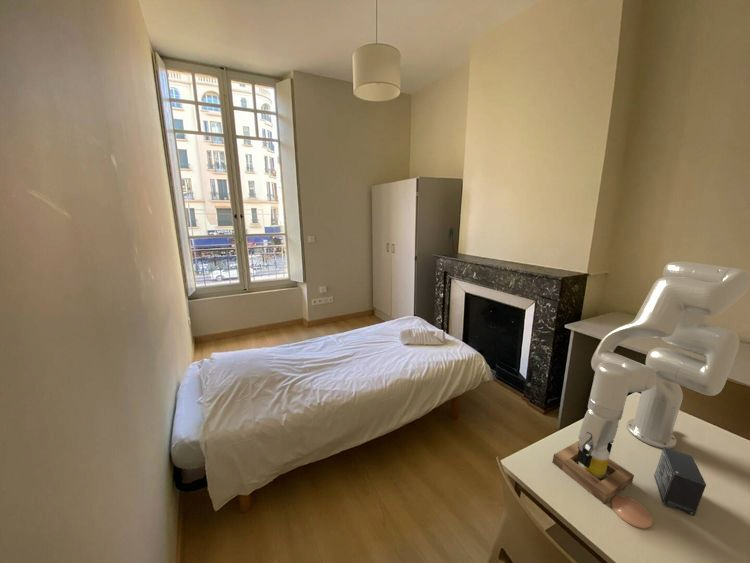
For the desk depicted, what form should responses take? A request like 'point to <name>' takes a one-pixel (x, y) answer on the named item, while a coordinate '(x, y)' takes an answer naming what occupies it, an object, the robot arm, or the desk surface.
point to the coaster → (631, 512)
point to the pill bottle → (598, 462)
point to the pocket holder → (599, 489)
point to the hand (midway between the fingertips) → (593, 457)
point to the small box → (679, 481)
